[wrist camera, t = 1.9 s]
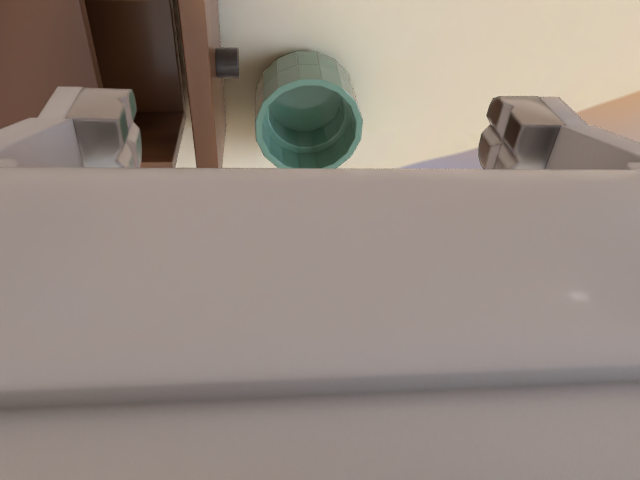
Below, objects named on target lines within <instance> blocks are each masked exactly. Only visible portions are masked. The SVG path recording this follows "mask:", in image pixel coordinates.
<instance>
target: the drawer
mask: <svg viewBox="0 0 640 480" xmlns="http://www.w3.org/2000/svg"><path fill="white" fill-rule="evenodd" d="M84 2H85V6H86V11H87V16H88V20H89V25H90V30H91V34H92V39H93V44H94V48H95V53H96V57H97V62H98V67H99V71H100V76H101V81H102V85H103V88H112V89H132V90H133V93H134V95H135V101H136V107H137V112H136V115H135V118H134V121H133V122H134V123H135V124H136V125H137V126H138V127H139V128H140V134H141V144H142V156H141V164H140V168H175V166H176V161H177V157H178V152H179V148H180V143H181V139H182V134H183V130H184V125H185V121H186V110H185V101H184V93H183V85H182V76H181V68H180V60H179V52H178V43H177V35H176V27H175V18H174V10H173V2H172V0H84ZM178 9H179V18H180V27H181V35H182V44H183V53H184V61H185V70H186V79H187V88H188V96H189V105H190V114H191V122H192V131H193V140H194V149H195V157H196V166H197V168H222V162H223V153H224V143H225V133H226V112H225V98H224V84H223V78H239V50H238V48H221V42H220V28H219V14H218V0H178Z"/></svg>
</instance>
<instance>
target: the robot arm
mask: <svg viewBox="0 0 640 480" xmlns="http://www.w3.org/2000/svg"><path fill="white" fill-rule="evenodd" d="M136 112H137V107H136V101H135V95H134V93H133V90H132V89H112V88H85V87H57V88H56V90H55V91H54V93H53V94H52V96H51V97H50V99H49V100H48V102H47V103H46V105H45V106H44V108H43V110H42V111H41V113H40V114H39V116H38V117H37V118H28V119H25V120H22V121H20V122H17V123H15V124H12V125H10V126H7V127H4V128H2V129H0V480H640V143H639V142H636V141H634V140H631V139H628V138H626V137H623V136H621V135H618V134H615V133H613V132H610V131H607V130H605V129H602V128H599V127H597V126H589V125H588V124H586V122H585V121H583V120H582V119H581V118H580V117H579V116H578V115H577V114H576V113H575V112H574V111H573V110H572V109H571V108H570V107H569V106H568V105H567V104H566V103H565V102H564V101H563V100H562V99H561V98H559V97H538V96H498V97H495V98H493V100H492V101H491V103H490V105H489V108H488V112H487V115H486V116H487V118H488V120H489V123H490V125H489V126H488V127H487V128H486V129H485V130H484V131H483V132H482V134H481V138H480V142H479V161H480V164H481V166H482V168H483V169H333V168H140V164H141V156H142V144H141V134H140V128H139V127H138V126H137V125H136V124H135V123H134V122H133V121H134V118H135V115H136Z"/></svg>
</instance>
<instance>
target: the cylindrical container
mask: <svg viewBox="0 0 640 480" xmlns="http://www.w3.org/2000/svg"><path fill="white" fill-rule="evenodd" d="M362 124H363V119H362V116H361V112H360V109H359V106H358V102H357V99H356V96H355V92H354V89H353V86H352V83H351V80H350V77H349V75H348V73H347V71H346V70H345V69H344V68H343V67H342V66H341V65H340V64H339V63H338V62H337V61H336V60H334V59H333V58H331V57H328V56H326V55H324V54H321V53H319V52H312V51H297V52H293V53H290V54H288V55H285V56H283V57H280V58H278V59H276V60H275V61H274V62H273V63H272V64H271V65H270V66H269V67H268V68H267V69H266V70H265V71H264V72H263V74H262V76H261V78H260V81H259V83H258V86H257V88H256V107H255V129H256V141H257V143H258V145H259V147H260V149H261V151H262V153H263V155H264V156H265V157H266V158H267V159H268V160H269V161H271V162H272V163H273V164H274V165H275V166H276V167H278V168H333V169H336V168H338V167H339V166H340V165H341V164H342V163H344V162H345V161H346V160H347V159H349V158H350V157H351V156H352V154H353V153H354V151H355V149H356V147H357V145H358V144H359V142H360V140H361V134H362Z"/></svg>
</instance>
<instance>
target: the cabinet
mask: <svg viewBox="0 0 640 480" xmlns="http://www.w3.org/2000/svg"><path fill="white" fill-rule="evenodd" d="M57 87H85V88H103V85H102V81H101V76H100V71H99V67H98V62H97V57H96V53H95V48H94V44H93V39H92V34H91V30H90V25H89V20H88V16H87V11H86V6H85V2H84V0H0V129H2V128H4V127H7V126H10V125H12V124H15V123H17V122H20V121H22V120H25V119H28V118H37V117H38V116H39V114H40V113H41V111H42V110H43V108H44V106H45V105H46V103H47V102H48V100H49V99H50V97H51V96H52V94H53V93H54V91H55V90H56V88H57Z"/></svg>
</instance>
